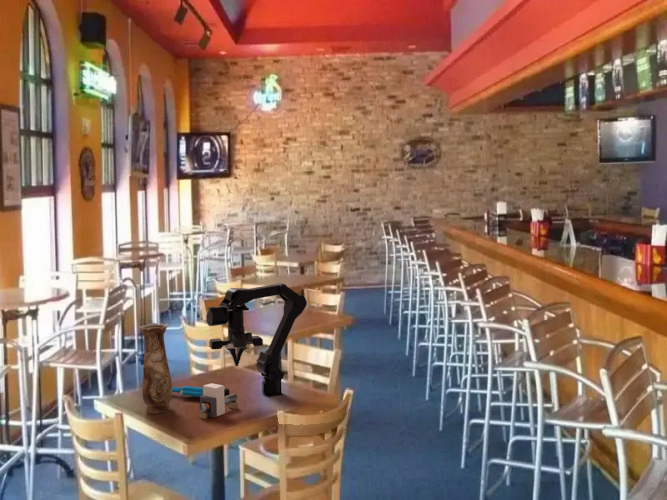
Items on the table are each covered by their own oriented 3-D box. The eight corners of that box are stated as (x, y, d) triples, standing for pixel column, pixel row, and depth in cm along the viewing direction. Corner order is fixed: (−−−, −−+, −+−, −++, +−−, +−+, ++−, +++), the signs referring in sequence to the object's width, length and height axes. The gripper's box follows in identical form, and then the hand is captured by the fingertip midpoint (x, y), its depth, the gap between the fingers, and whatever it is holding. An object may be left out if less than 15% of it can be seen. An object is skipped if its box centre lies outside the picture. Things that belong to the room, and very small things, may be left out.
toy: (152, 397, 299) (223, 405, 288) (152, 382, 299) (223, 389, 288) (164, 392, 307) (234, 399, 296) (164, 377, 306) (234, 384, 295)
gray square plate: (203, 413, 276) (202, 395, 275) (216, 416, 272) (216, 398, 272) (200, 414, 275) (199, 396, 274) (213, 417, 271) (213, 399, 270)
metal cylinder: (231, 406, 285) (231, 392, 285) (237, 407, 283) (237, 394, 283) (199, 417, 272) (199, 403, 272) (206, 419, 270) (205, 404, 270)
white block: (211, 410, 279) (211, 383, 278) (224, 413, 276) (224, 385, 275) (203, 413, 276) (202, 385, 275) (216, 416, 272) (215, 388, 271)
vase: (164, 415, 275) (161, 328, 273) (136, 413, 278) (133, 327, 276) (178, 407, 285) (175, 323, 283) (150, 405, 288) (148, 322, 286)
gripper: (214, 328, 281) (215, 373, 282) (266, 325, 287) (267, 368, 288) (208, 323, 291) (209, 366, 293) (258, 320, 297) (259, 362, 299)
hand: (236, 365), depth 293 cm, fingers closed
